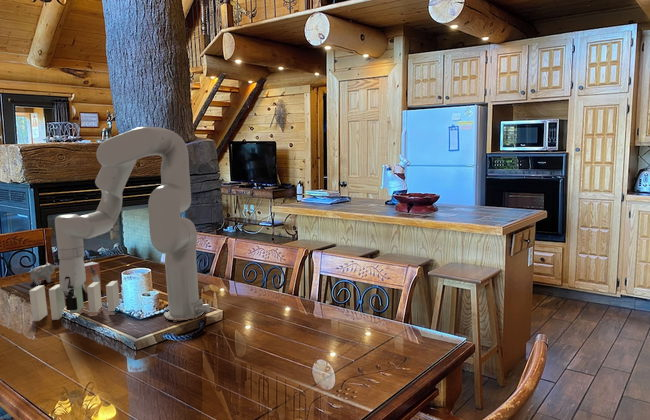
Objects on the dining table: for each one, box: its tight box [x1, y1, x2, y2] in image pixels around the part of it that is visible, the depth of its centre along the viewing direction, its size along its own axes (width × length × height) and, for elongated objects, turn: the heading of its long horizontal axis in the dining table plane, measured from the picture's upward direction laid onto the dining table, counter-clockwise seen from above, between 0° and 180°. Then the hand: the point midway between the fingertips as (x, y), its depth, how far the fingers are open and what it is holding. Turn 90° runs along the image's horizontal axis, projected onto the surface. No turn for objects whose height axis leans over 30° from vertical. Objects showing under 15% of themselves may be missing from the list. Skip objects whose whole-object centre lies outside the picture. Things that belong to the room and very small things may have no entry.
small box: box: [84, 261, 102, 294], centre depth 188 cm, size 8×6×10 cm
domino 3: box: [69, 285, 85, 314], centre depth 160 cm, size 2×6×10 cm, turn 6°
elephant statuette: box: [29, 262, 59, 286], centre depth 204 cm, size 9×12×8 cm
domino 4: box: [86, 282, 103, 312], centre depth 161 cm, size 2×6×10 cm, turn 7°
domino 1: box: [29, 284, 48, 322], centre depth 159 cm, size 2×6×10 cm, turn 7°
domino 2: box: [48, 283, 66, 321], centre depth 160 cm, size 2×6×10 cm, turn 7°
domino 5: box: [105, 280, 121, 312], centre depth 162 cm, size 2×6×10 cm, turn 7°
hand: (76, 305), depth 161 cm, fingers open, 7 cm apart
